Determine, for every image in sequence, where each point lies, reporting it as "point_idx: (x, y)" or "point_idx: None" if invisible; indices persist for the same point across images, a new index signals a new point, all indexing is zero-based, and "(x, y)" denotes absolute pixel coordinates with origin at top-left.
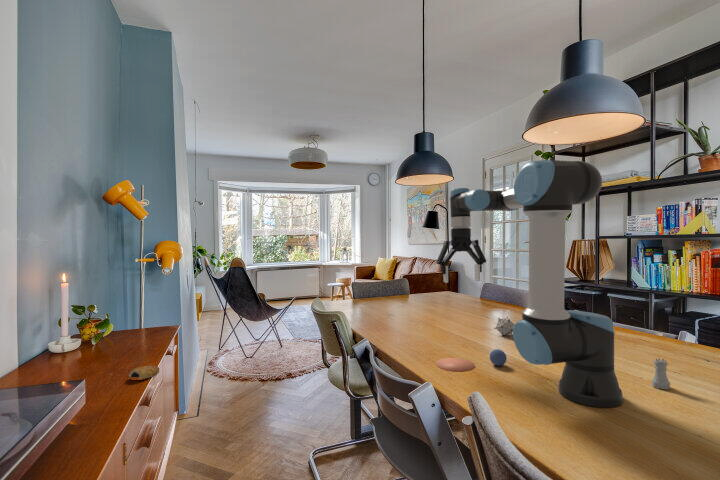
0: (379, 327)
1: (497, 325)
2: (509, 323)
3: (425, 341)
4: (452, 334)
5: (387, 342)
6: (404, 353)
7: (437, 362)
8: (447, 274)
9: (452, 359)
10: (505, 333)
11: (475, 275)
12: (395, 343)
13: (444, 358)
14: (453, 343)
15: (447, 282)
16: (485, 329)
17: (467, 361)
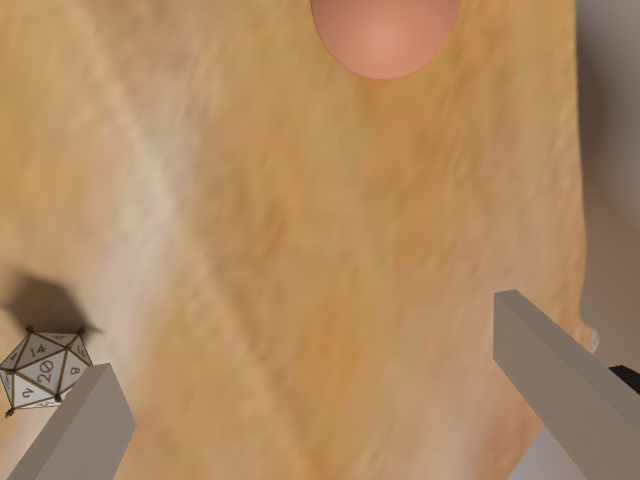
0: (508, 458)
1: (81, 373)
2: (20, 358)
3: (404, 295)
4: (277, 369)
5: (541, 294)
6: (527, 162)
7: (449, 27)
8: (566, 351)
9: (379, 57)
10: (65, 333)
11: (108, 466)
12: (517, 281)
13: (406, 73)
14: (307, 263)
15: (505, 292)
16: None
17: (328, 21)
